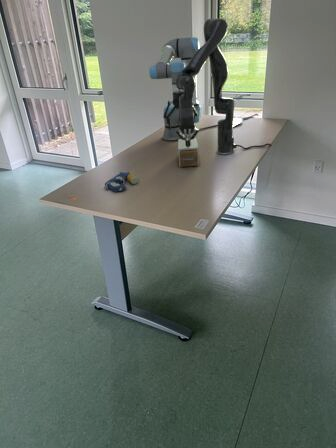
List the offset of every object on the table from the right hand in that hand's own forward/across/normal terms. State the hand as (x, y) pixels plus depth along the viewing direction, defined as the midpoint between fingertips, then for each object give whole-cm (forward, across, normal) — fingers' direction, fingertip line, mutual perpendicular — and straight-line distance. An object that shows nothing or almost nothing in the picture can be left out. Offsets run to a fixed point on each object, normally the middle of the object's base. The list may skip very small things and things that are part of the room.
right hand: (188, 146), depth 188 cm
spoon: (+14, +36, +81) cm, 90 cm away
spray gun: (+14, -37, -16) cm, 42 cm away
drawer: (+12, 0, +8) cm, 15 cm away
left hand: (-5, -4, +19) cm, 20 cm away
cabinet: (+14, 0, +14) cm, 19 cm away
